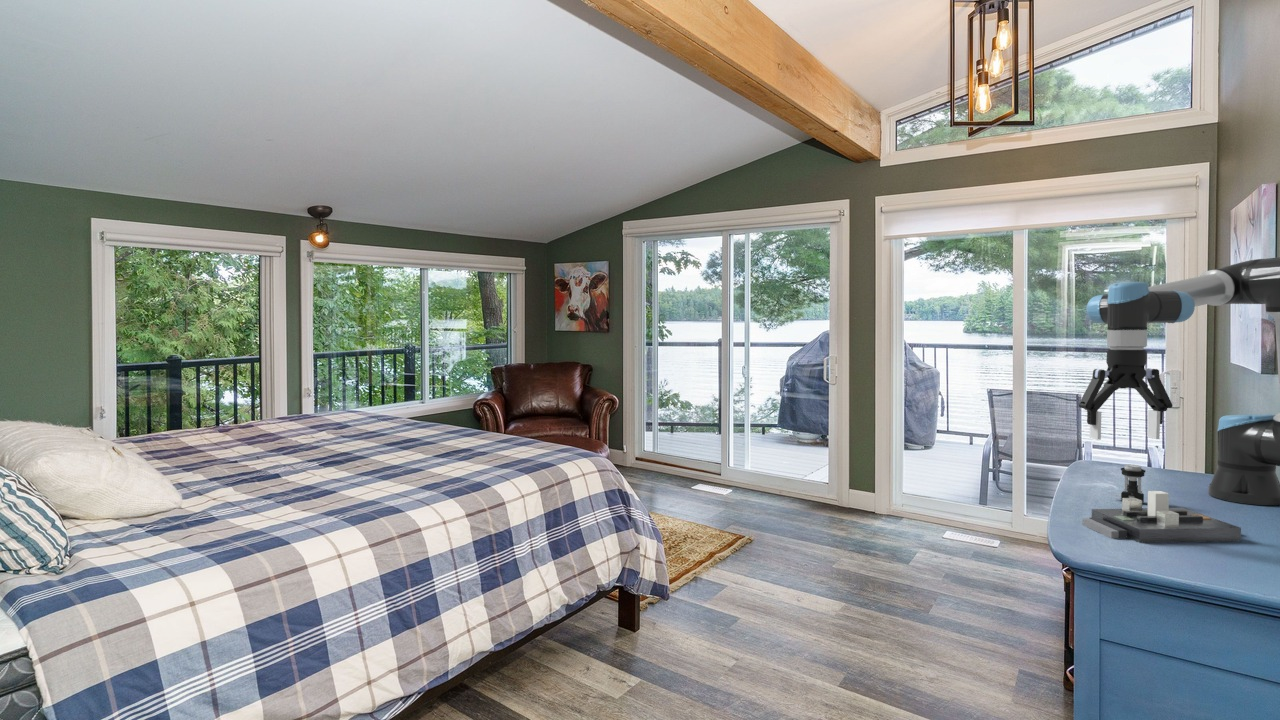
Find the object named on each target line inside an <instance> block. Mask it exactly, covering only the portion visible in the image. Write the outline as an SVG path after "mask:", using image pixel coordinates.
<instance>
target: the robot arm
mask: <svg viewBox="0 0 1280 720" xmlns="http://www.w3.org/2000/svg"><path fill="white" fill-rule="evenodd" d="M1204 305H1205V306H1206V305H1208V306H1213V307H1216V306H1217V307H1218V306H1219V307H1220V306H1224V305H1264V306H1265V313H1266V314H1268V315H1269V316H1271V317H1272V318H1273V319H1274V327H1275V339H1276V340H1275V341H1276V357H1277V371H1278V372H1277V373H1278V384H1279V388H1278V389H1279V390H1280V257H1278V256H1277V257H1269V258H1268V257H1267V258H1258V259H1250V260H1246V261H1242V262H1238V263H1234V264H1230V265H1226V266H1223V267H1219V268H1215V269H1209V270H1207V271H1204V272H1203V273H1202V274H1200V275H1199V276H1196V277H1195V276H1194V277H1190V278H1186V279H1181V280H1176V281H1172V282H1171V281H1170V282H1165V283H1160V284H1157V285H1156V284H1155V285H1152V286H1149V284H1148V283H1147V282H1143V281H1130V282H1116V283H1112V284H1111V285H1109V287H1108V293H1104V294H1101V295H1100V294H1099V295H1098V294H1097V295H1094V296H1093V297H1091V298H1090V299H1089V301H1088V302H1087V304H1086V315H1087V317H1088V318H1089V320H1090V321H1091V322H1093V323H1096V324H1103V325H1107V327H1106V328H1107V330H1106V331H1107V332H1106V336H1107V337H1106V347H1108V348H1109V349H1107V351H1106V359H1105V360H1106V365H1107V369H1106V370H1105V369H1099V368H1094V369H1093V371H1092V378H1091V379H1090V381H1089V384H1088V385H1087V388H1086V389H1085V391H1084V393H1083V395H1082V397H1081V399H1080V400H1079V403H1078V408H1081V409H1083V410H1085V411H1086V412H1087V413H1086V422H1087V425H1089V438H1090V439H1095V440H1098V441H1099V440H1101V439H1102V436H1101V435H1102V411H1098V410H1100V408H1102V406H1103V405H1104V404H1105V402H1107V401H1108V400H1109V398H1110V397H1111V396H1112V395H1113V394H1114V393H1115V391H1118V390H1119V389H1134V390H1136V391H1137V393H1138V394H1139V395H1140V396H1141V398H1143V400H1144V401H1145V403H1147V405H1148V406H1149V407H1150V409H1147V433H1146V435H1147V438H1150V439H1153V440H1160V432H1161V431H1160V430H1161V425H1163V422H1164V420H1163V419H1164V412H1167V411H1168V409H1171V408H1173V405H1174V404H1173V403H1172V400H1171V399H1170V397H1169V395H1168V393H1167V390H1166V388H1165V387H1164V386H1165V385H1164V384H1163V382H1162V380H1161V377H1160V370H1159V369H1158V368H1147V369H1146V368H1145V366H1146V365H1147V361H1148V360H1147V354H1148V353H1147V351H1146V349H1145V348H1146V347H1148V324H1175V323H1182V322H1186V321H1187V320H1189V319H1190V318H1191V317H1192V316H1193V314H1194V312H1195V308H1196V307H1200V306H1204ZM1144 378H1146V380H1147V382H1148V384H1149V385H1148V384H1147V383H1146V382H1145V380H1144ZM1105 379H1107V380H1106V381H1105ZM1101 387H1102V388H1101ZM1149 387H1150V388H1149ZM1216 430H1217V431H1216V432H1217V464H1216V465H1217V466H1216V469H1215V472H1214V474H1213V477H1212V479H1211V483H1209V484H1208V495H1209V496H1210V497H1212V498H1216V499H1218V500H1223V501H1228V502H1233V503H1238V504H1248V505H1255V506H1256V505H1257V506H1278V505H1280V481H1279V478H1278V476H1277V472H1276V471H1277V467H1280V411H1279V412H1278V413H1277V414H1269V413H1268V414H1267V413H1265V414H1264V413H1260V414H1259V413H1252V414H1251V413H1250V414H1246V413H1245V414H1228V415H1223V416H1221V417H1220V418H1219V420H1218V426H1217V429H1216Z"/></svg>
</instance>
